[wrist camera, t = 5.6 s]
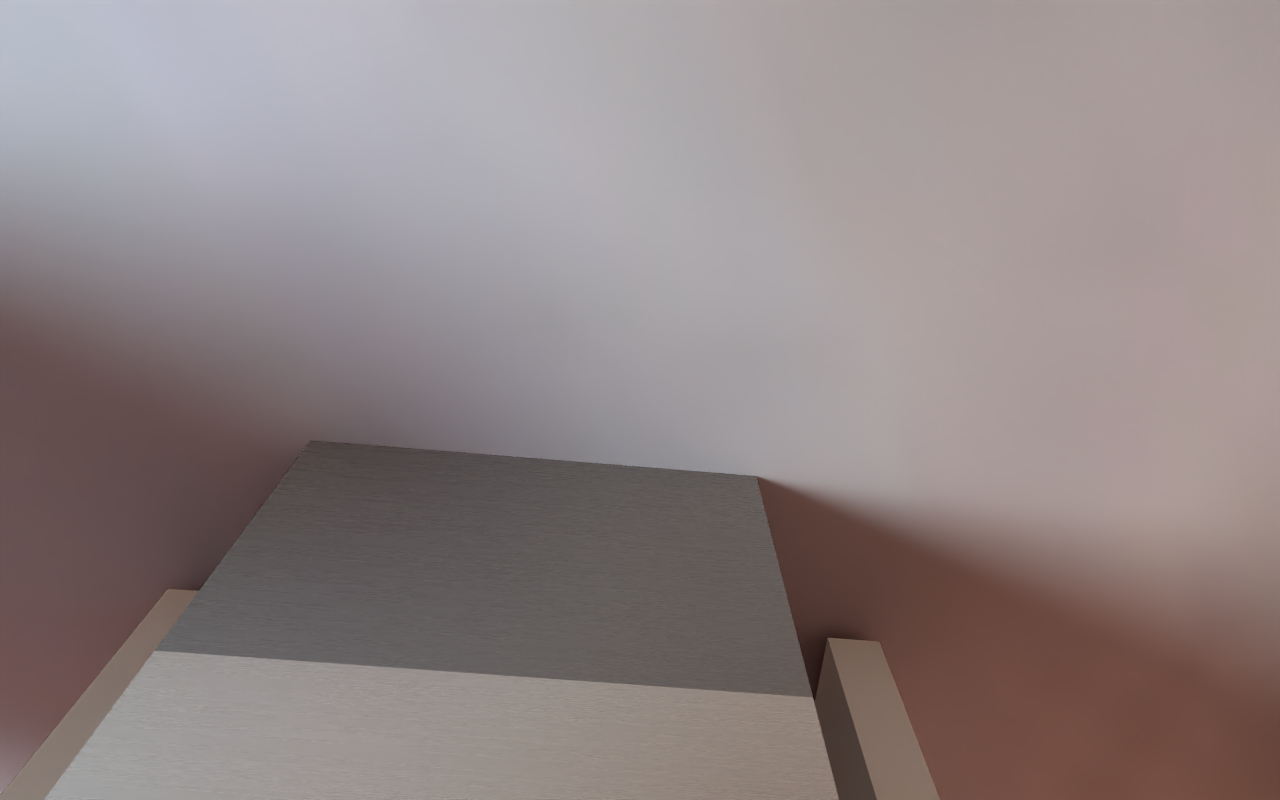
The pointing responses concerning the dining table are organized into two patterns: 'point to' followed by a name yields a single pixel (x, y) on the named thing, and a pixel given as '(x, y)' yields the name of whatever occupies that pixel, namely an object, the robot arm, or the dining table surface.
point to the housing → (476, 644)
